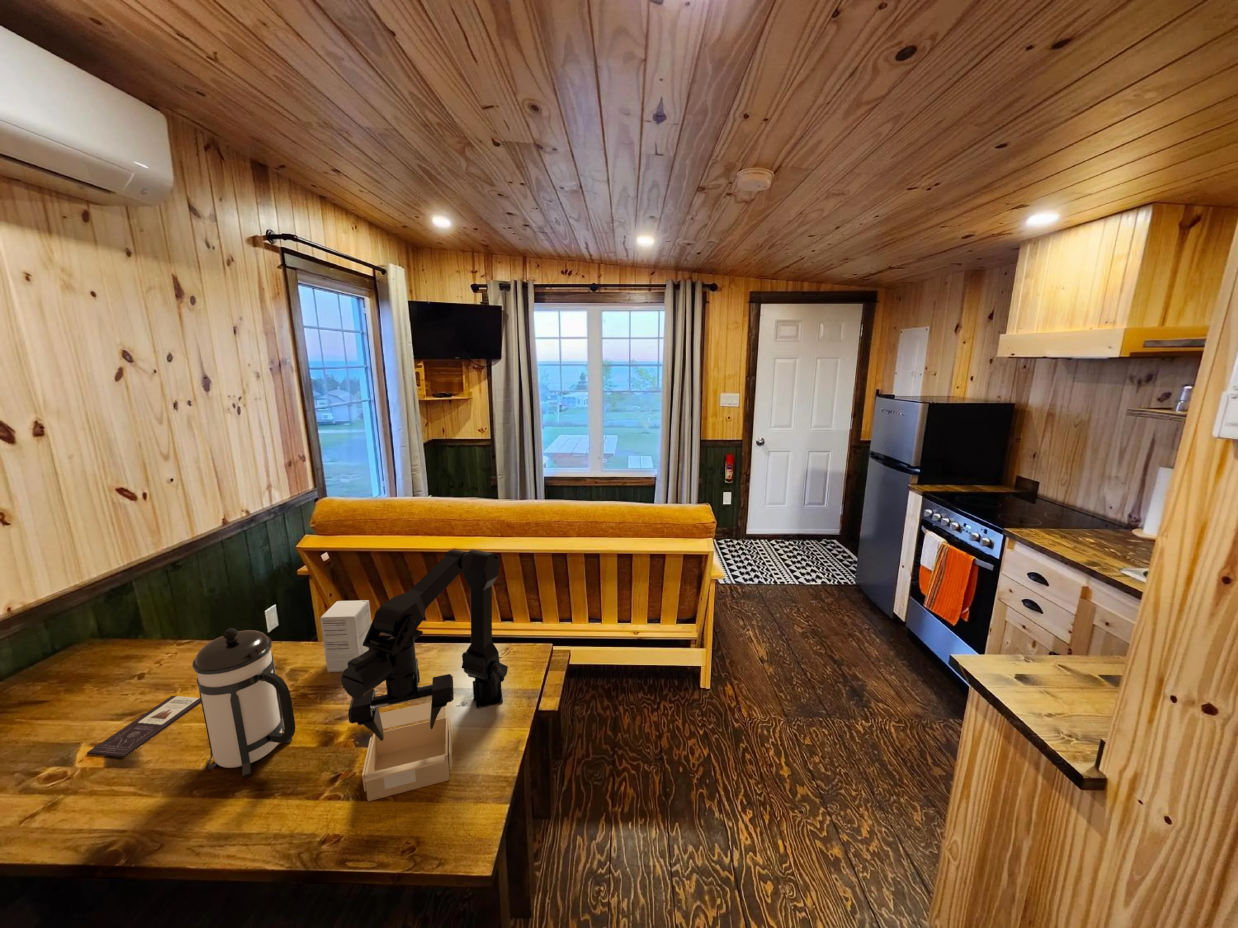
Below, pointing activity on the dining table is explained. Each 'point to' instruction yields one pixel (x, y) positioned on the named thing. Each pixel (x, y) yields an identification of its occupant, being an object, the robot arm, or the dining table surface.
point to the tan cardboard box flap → (408, 715)
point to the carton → (408, 757)
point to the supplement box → (345, 632)
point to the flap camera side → (404, 768)
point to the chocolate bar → (145, 727)
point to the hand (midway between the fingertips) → (407, 733)
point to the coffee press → (242, 699)
